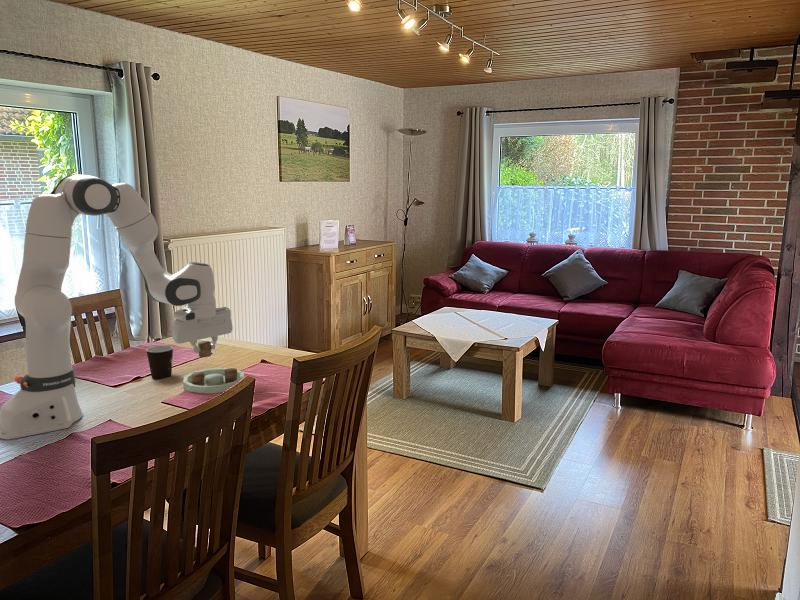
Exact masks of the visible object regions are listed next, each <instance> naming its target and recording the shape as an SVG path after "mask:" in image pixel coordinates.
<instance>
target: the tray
mask: <svg viewBox="0 0 800 600" xmlns="http://www.w3.org/2000/svg"><path fill="white" fill-rule="evenodd" d="M225 369H229V368H227V367H217V368H215V367H213V368H205V369H204V368H203V369H201V370H200V369H199V370H196V371H193V372H190V373H189V374H187V375H185V376H184V377H183V382H182V385H183V386H182V387H183V389H185V391H187V392H191V393H196V394H217V393H223V392H224V391H225V392H227V391H226V390H227V389H229V388H230V387H232V386H233V385H235V384H236V383H238V382H239V381H240V380H241V379H243V378H244V379H245V373H244V371H241V370H238V369H237V380H235V381H234V382H230V383H226V384H225ZM194 372H204V379H205V386H201V385H193V384H192V378H191V374H192V373H194Z"/></svg>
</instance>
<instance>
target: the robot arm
mask: <svg viewBox="0 0 800 600" xmlns="http://www.w3.org/2000/svg"><path fill="white" fill-rule="evenodd" d="M29 206H30V207H29V210H28V214H27V219H26V223H25V224H26V225H25V233H24V235H25V236H24V241H23V243H24V244H23V256H22V264H21V268H20V273H19V276H18V281H17V286H16V290H15V295H14V306H15V309H16V311H17V312H18V314H19V315H20V316H22V317H23V319H24V322H25V341H24V342H25V344H24V348H23V349H24V357H25V366H26V373H27V374H26V375H24V376H22V375H16V376H15V377H14V380H13V381H14V382H15V383H16V384H18V385H19V386H20V389H19V390H18V391H17V392H15V394H14V395H13V396H12V397H10V398H9V399H8V400H6V401H5V402H4V403H3V404H2V405H1V408H0V439H1V440H15V439H18V438H24V437H28V436H33V435H40V434H43V433H48V432H49V433H50V432H53V431H59V430H64V429H67V428H70V427H71V426H72V425H73V424H74V423H76V422H77V421H79V420H80V419H81V418H82V417H83V416H84V413H83V411H82V408H81V407H80V404H79V400H78V397H77V394H76V393H77V392H76V389H75V388H76V374H75V371H74V368H73V367H72V358H71V357H72V356H71V349H70V348H71V346H70V345H71V344H70V340H71V339H70V338H71V337H70V335H71V325H72V324H71V323H72V320H71V319H72V315H73V307H72V303H71V301H70V299H69V298H68V296H67V295H66V294H65V293H64V292H62V286H63V282H64V279H65V275H66V272H67V270H68V269H69V266H70V259H71V258H70V257H71V256H70V255H71V245H72V231H73V230H72V228H73V225H74V222H75V220H76V218H77V217H78V216H79V215H84V216H94V217H95V216H101V215H106V216H107V217H108V218H109V219H110V221H111V223H112V224H113V226H114V228H115V229H116V231H117V232H118V235H119V236H120V237H121V239H122V240H123V241H124V243H125V245H126V246H127V248H128V250H129V252H130V254H131V256H132V258H133V260H134V262H135V263H136V265H137V267H138V269H139V271H140V273H141V274H142V278H143V281H144V287H145V288H144V289H145V292H146V295H147V296H148V297H149V298H150V299H151V301H154V302H157V303H164V304H166V305H171V306H174V307H181V306H184V307H182V308H180V309H178V310H176V311H174V312H173V318H174V319H175V320H174V321H173V323H172V329H171V330H172V340H173V341H174V342H175V343H177V344H179V345H180V344H184V343H185V344H186V343H190V345H191V346H192V348H193V353H195V354H199V352H201V351H200V347H198V341H199V340H205V339H209V338H211V341H210V342H211V351H212V350H216V344H217V342H218V340H219V338H218V337H219V336H223V335H228V334H229V335H230V334H231V333H232V332H233V330H234V329H233V322H232V318H231V317H232V315H231V314H232V311H231V309H230V308H229V307H227V306H222V307H217V306H216V304H217V303H216V298H215V293H214V292H215V288H216V287H215V276H214V272H213V269H212V266H211V265H210V264H208V263H205V262H204V263H203V262H197V261H196V262H195V261H193V262H192V261H191V262H187V264H186V266H184V267H183V268H181V270H179V271H178V272H176V273H174V274H173V273H170V272H168V271H167V270H165V269H164V268H163V267H162V265H161V263H160V261H159V259H158V257H157V255H156V253H155V252H154V251H155V250H154V249H153V246H152V245H153V243H154V242H155V240H156V239H157V237H158V234H159V227H158V223H157V220H156V219H155V217H154V215H153V213H152V212H151V209H150V208H149V207H148V205H147V203H146V202H145V200H144V199H143V198H142V196H141V195H140V194H139V193H138V191H137V190H136V189H135V187H134V186H132V185H131V184H129V183H125V182H119V183H113V184H111V183H109V182H108V181H106V180H105V179H103V178H101V177H99V176H95V175H94V176H93V175H90V174H82V173H81V174H79V173H78V174H69V175H66V176H65V177H63V178H62V179H61V180H60V181H58V183H57V184H56V185H55V187H54V188H53V190H52V191H51V192H50V193H46V194H45V193H44V194H41V195H37V196H35V197H34V198H33V199H32V200H31V204H30V205H29ZM185 305H186V306H185Z"/></svg>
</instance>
